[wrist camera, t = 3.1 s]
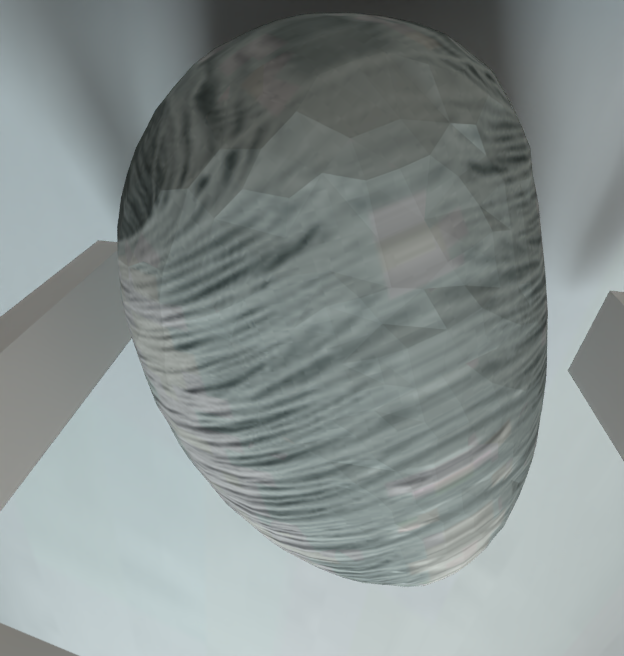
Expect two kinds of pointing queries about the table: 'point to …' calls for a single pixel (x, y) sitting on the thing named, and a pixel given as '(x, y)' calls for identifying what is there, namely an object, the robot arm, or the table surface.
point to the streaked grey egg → (343, 290)
